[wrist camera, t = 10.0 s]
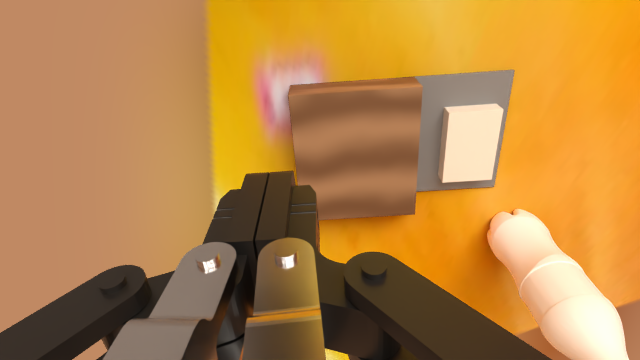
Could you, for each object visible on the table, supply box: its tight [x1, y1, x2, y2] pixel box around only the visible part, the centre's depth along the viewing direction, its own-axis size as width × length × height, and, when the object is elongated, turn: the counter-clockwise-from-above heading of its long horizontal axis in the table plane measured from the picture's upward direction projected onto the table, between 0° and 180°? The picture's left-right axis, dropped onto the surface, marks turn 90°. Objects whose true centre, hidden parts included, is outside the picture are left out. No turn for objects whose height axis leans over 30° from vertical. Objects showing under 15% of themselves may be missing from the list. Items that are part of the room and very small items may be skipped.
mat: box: [415, 70, 514, 191], centre depth 47 cm, size 15×11×1 cm
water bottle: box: [487, 209, 629, 360], centre depth 43 cm, size 7×7×25 cm
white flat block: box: [438, 104, 503, 183], centre depth 47 cm, size 9×6×2 cm, turn 4°
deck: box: [288, 77, 423, 220], centre depth 46 cm, size 16×14×4 cm
